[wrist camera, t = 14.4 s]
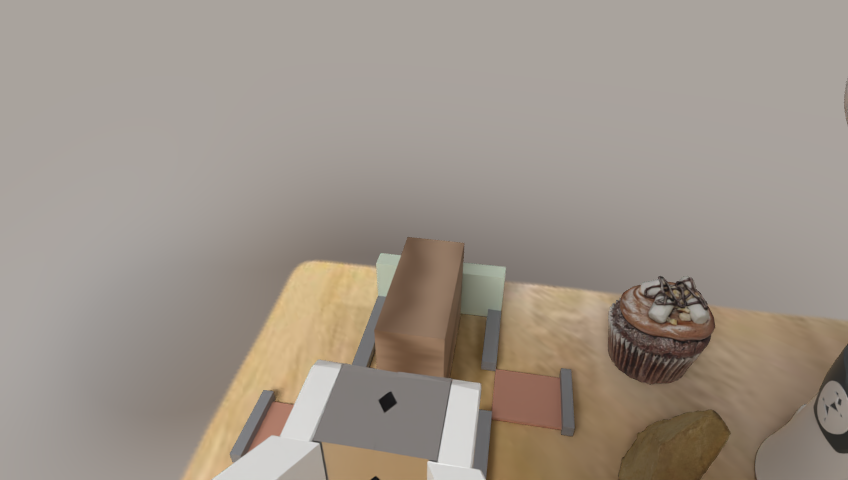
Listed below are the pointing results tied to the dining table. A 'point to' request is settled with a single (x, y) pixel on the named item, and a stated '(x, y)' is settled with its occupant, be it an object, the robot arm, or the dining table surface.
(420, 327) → the walnut block
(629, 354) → the cupcake
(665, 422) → the rock
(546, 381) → the green panel rail frame
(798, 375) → the dining table surface
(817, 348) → the dining table surface
